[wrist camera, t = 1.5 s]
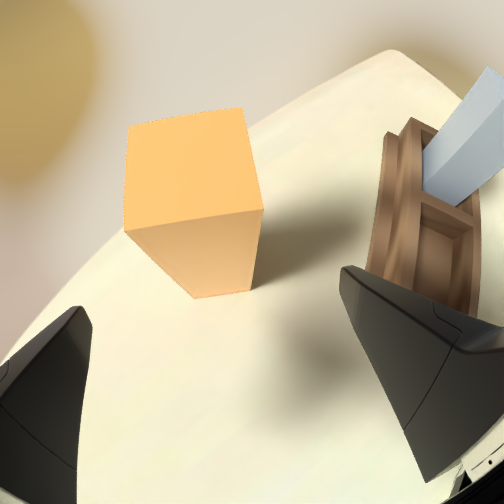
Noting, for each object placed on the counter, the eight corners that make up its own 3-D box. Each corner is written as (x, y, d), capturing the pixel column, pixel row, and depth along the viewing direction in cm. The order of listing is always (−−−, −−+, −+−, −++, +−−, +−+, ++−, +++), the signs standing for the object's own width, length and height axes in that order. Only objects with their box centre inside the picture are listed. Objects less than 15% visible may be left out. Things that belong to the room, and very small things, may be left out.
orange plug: (250, 290, 20) (263, 208, 8) (193, 298, 20) (124, 231, 8) (241, 236, 22) (241, 107, 9) (187, 245, 21) (129, 126, 9)
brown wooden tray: (452, 341, 20) (483, 338, 16) (355, 313, 20) (378, 306, 16) (461, 175, 25) (481, 156, 21) (383, 137, 25) (399, 111, 21)
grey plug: (447, 212, 22) (541, 132, 10) (412, 195, 22) (503, 98, 10) (446, 178, 23) (525, 95, 11) (413, 161, 23) (487, 65, 11)
